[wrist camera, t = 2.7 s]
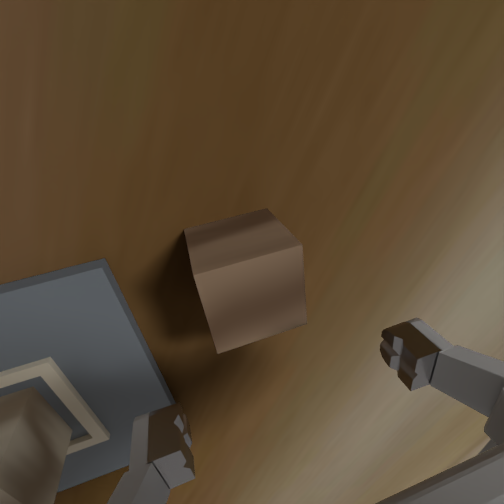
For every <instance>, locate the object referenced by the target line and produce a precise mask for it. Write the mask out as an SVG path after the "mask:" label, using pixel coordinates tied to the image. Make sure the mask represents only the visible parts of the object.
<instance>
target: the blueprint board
mask: <svg viewBox="0 0 504 504" xmlns="http://www.w3.org/2000/svg"><path fill="white" fill-rule="evenodd" d="M33 386H34V388H35V389H36V390H37V391H38V392H39V393H40V394H41V395H42V397H43V398H44V399H45V400H46V401H47V402H48V403H49V404H50V405H51V407H52V408H53V409H54V410H55V411H56V412H57V413H58V414H59V416H60V417H61V418H62V419H63V420H64V421H65V422H66V423H67V424H68V426H69V427H70V428H71V429H72V434H71V438H70V442H69V446H68V450H67V454H66V458H65V462H64V466H63V470H62V474H61V478H60V482H59V486H58V490H57V492H60V491H63V490H65V489H68V488H70V487H73V486H76V485H78V484H81V483H84V482H86V481H89V480H91V479H94V478H97V477H99V476H102V475H104V474H107V473H110V472H112V471H115V470H117V469H120V468H123V467H125V466H128V465H129V463H130V452H131V440H132V428H133V422H134V419H135V417H137V416H140V415H143V414H145V413H148V412H152V411H155V410H158V409H161V408H164V407H167V406H170V405H173V404H176V403H175V401H174V399H173V397H172V394H171V392H170V390H169V388H168V386H167V384H166V382H165V380H164V378H163V376H162V374H161V372H160V370H159V368H158V366H157V364H156V362H155V360H154V358H153V356H152V354H151V352H150V349H149V347H148V345H147V343H146V341H145V339H144V337H143V335H142V333H141V331H140V329H139V327H138V325H137V323H136V321H135V319H134V317H133V315H132V313H131V311H130V309H129V306H128V304H127V302H126V300H125V298H124V296H123V294H122V292H121V290H120V288H119V286H118V284H117V282H116V280H115V278H114V276H113V274H112V272H111V270H110V268H109V266H108V264H107V261H106V259H105V258H103V259H100V260H96V261H92V262H88V263H84V264H80V265H76V266H72V267H68V268H64V269H61V270H57V271H53V272H49V273H45V274H41V275H37V276H33V277H29V278H25V279H21V280H18V281H14V282H10V283H6V284H2V285H0V397H1V396H5V395H8V394H11V393H14V392H17V391H20V390H23V389H27V388H30V387H33Z"/></svg>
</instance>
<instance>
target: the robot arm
mask: <svg viewBox="0 0 504 504" xmlns="http://www.w3.org/2000/svg"><path fill="white" fill-rule="evenodd" d="M381 337H382V338H383V339H384V340H383V341H382V343H381V344H380V352H381V355H382V357H383V359H384V361H385V362H386V363H387V365H388V366H389V367H390V368H393V369H395V370H397V373H398V377H399V378H400V380H401V381H402V382H403V383H404V384H405V385H406V386H407V388H408V389H409V390H410V391H412V390H415V389H418V388H420V387H423V386H426V385H429V384H430V385H431V386H432V387H434V388H436V389H438V390H440V391H441V392H443V393H445V394H447V395H449V396H451V397H452V398H454V399H456V400H458V401H460V402H462V403H463V404H465V405H467V406H469V407H471V408H473V409H474V410H476V411H478V412H480V413H482V414H483V415H485V416H487V417H489V418H488V420H487V422H486V424H485V426H484V432H485V433H486V434H487V435H488V436H489V437H490V438H491V439H492V440H493V441H494V442H495V443H496V444H497V445H498V446H496V447H494V448H492V449H490V450H488V451H486V452H484V453H481V454H479V455H477V456H475V457H473V458H471V459H469V460H466V461H464V462H462V463H460V464H458V465H456V466H454V467H452V468H449V469H447V470H445V471H443V472H441V473H439V474H437V475H435V476H433V477H430V478H428V479H426V480H424V481H422V482H420V483H418V484H416V485H413V486H411V487H409V488H407V489H405V490H403V491H401V492H399V493H397V494H394V495H392V496H390V497H388V498H386V499H384V500H382V501H380V502H377V503H375V504H504V361H501V360H498V359H495V358H493V357H490V356H487V355H484V354H481V353H478V352H475V351H473V350H470V349H467V348H464V347H461V346H458V345H456V346H453V345H452V344H451V343H449V342H448V341H447V340H446V339H445V338H443V337H442V336H441V335H440V334H438V333H437V332H436V331H435V330H434V329H432V328H431V327H430V326H429V325H427V324H426V323H425V322H424V321H423V320H421V319H419V318H414V319H412V320H409V321H406V322H402V323H400V324H397V325H394V326H392V327H389V328H386V329H384V330H383V331H382V335H381ZM191 444H192V437H191V431H190V425H189V422H188V419H187V416H186V415H185V414H183V408H182V406H181V404H180V402H178V403H176V404H173V405H170V406H167V407H164V408H161V409H158V410H155V411H152V412H148V413H145V414H143V415H140V416H137V417H135V419H134V422H133V428H132V440H131V452H130V463H129V471H128V472H125V473H124V474H123V476H122V478H121V479H120V481H119V483H118V485H117V487H116V488H115V490H114V492H113V494H112V495H111V497H110V499H109V501H108V503H107V504H166V502H167V499H168V496H169V494H170V490H169V489H172V488H174V487H176V486H178V485H181V484H183V483H185V482H188V481H190V480H192V479H194V478H195V469H194V458H193V455H192V452H191V450H190V446H191Z"/></svg>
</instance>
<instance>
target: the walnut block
mask: <svg viewBox="0 0 504 504" xmlns="http://www.w3.org/2000/svg"><path fill="white" fill-rule="evenodd" d="M184 232H185V237H186V242H187V247H188V252H189V257H190V262H191V267H192V272H193V276H194V279H195V283H196V286H197V289H198V292H199V296H200V299H201V302H202V305H203V308H204V312H205V315H206V318H207V321H208V325H209V328H210V331H211V334H212V338H213V341H214V344H215V347H216V351H217V354H219V353H222V352H225V351H228V350H231V349H234V348H237V347H240V346H243V345H246V344H249V343H252V342H255V341H258V340H261V339H264V338H267V337H270V336H273V335H276V334H279V333H282V332H285V331H287V330H290V329H293V328H296V327H299V326H302V325H305V324H307V314H306V297H305V280H304V263H303V246H302V244H301V243H300V242H299V241H298V240H297V239H296V238H295V237H294V236H293V234H292V233H291V232H290V231H289V230H288V229H287V228H286V227H285V226H284V225H283V224H282V223H281V222H280V221H279V220H278V219H277V218H276V217H275V216H274V215H273V214H272V213H271V212H270V211H269V210H268V209H267V208H266V209H262V210H258V211H254V212H250V213H246V214H242V215H239V216H235V217H231V218H227V219H223V220H219V221H215V222H211V223H207V224H203V225H199V226H195V227H191V228H187V229H184Z"/></svg>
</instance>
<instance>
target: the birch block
mask: <svg viewBox="0 0 504 504" xmlns="http://www.w3.org/2000/svg"><path fill="white" fill-rule="evenodd" d="M71 434H72V429H71V428H70V427H69V426H68V424H67V423H66V422H65V421H64V420H63V419H62V418H61V417H60V416H59V414H58V413H57V412H56V411H55V410H54V409H53V408H52V407H51V405H50V404H49V403H48V402H47V401H46V400H45V399H44V398H43V397H42V395H41V394H40V393H39V392H38V391H37V390H36V389H35V388H34V386H33V387H30V388H27V389H23V390H20V391H17V392H14V393H11V394H8V395H5V396H1V397H0V504H54V502H55V498H56V494H57V490H58V486H59V482H60V478H61V474H62V470H63V466H64V462H65V458H66V454H67V450H68V446H69V442H70V438H71Z"/></svg>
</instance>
